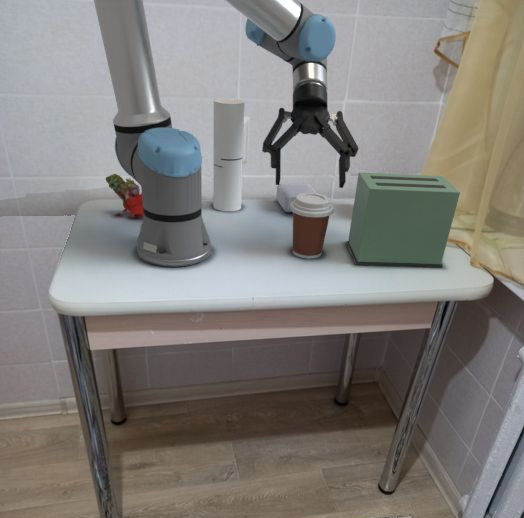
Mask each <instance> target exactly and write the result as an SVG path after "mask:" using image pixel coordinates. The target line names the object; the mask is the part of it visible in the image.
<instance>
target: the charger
mask: <svg viewBox="0 0 524 518" xmlns="http://www.w3.org/2000/svg"><path fill="white" fill-rule="evenodd" d="M302 193H318V192H317V191H316V190H315V189H314V188H313V186H312V185H311V184H309V183H307V182H295V183H293V182H290V183H289V182H288V183H287V182H285V183H279V185H276V197H275V198H276V200H277V202H278V203H279V205H280V207H281V208H282V209H283V211H284V212H286V213H293V212H292V211H291V210H290V203H292V202H293V201H294V200H296V196H297V195H299V194H302Z"/></svg>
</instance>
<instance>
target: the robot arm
mask: <svg viewBox="0 0 524 518" xmlns="http://www.w3.org/2000/svg"><path fill="white" fill-rule="evenodd" d="M224 1H225V2H226V3H227V4H229V5H230V6H231V7H233V8H234V9H235V10H237V11H238V12H239V13H240V14H241V15H243V17H245V18H247V19H246V23H245V27H244V28H245V29H244V31H245V35H246V38H247V39H248V40H249V41H251V42H252V43H254V44H255V45H256V46H257V47H260V48H262V49H264V50H266V51H267V52H268V53H271V54H273V55H275V56H276V57H278V58H279V59H281V60H282V61H284V62H286V63H288V64H290V65H291V69H292V110H291V111H287V110H285V108H284V107H280V108H279V109H278V114H277V118H276V119H275V121H274V123H273V125H272V126H271V128H270V130H269V132H268V134H267V135H266V137H265V138H264V140H263V142H262V149H261V151H262V152H263V153H268V154H269V155H270V169H275V185H276V186H278V185H279V184H281V168H282V167H281V163H282V162H281V161H282V160H281V158H282V157H281V156H282V155H281V152H282V149H284V147H285V146H286V145H287V144H288V143H289V142H290V141H291V140H292V139H293V138H294V137H296V136H297V135H298V134H299V133H301V134H302V135H313V136H317V135H318V134H319V136H320V137H322V138H323V139H325V140H326V141H327V143H329V145H330V146H331V147H332V149H334V151H335V152H337V154H338V155H339V159H338V187H339V189H343V188H344V186H345V184H346V178H347V177H346V173H348V172H349V170H350V168H351V158H355V157H356V156H357V154H358V152H359V145H358V144H357V142H356V140H355V138H354V137H353V135H352V133H351V131H350V129H349V128H348V126H347V124H346V122H345V120H344V113H343V112H342V111H341V110H338V111H337V112H336V113H329V110H328V57H329V56H330V54H331V53H332V51H333V49H334V47H335V45H336V38H337V34H336V27H335V25H334V23H333V22H332V20H331V19H330V18H329V17H327V16H324V15H322V14H319V13H314V12H312V11H311V10H310V9H309V8H308V7H307V6H306V5H304V4H303V3H302V2H300V1H299V0H224ZM93 3H94V7H95V12H96V16H97V20H98V26H99V29H100V33H101V34H100V35H101V38H102V43H103V48H104V52H105V57H106V61H107V66H108V70H109V71H108V72H109V75H110V79H111V85H112V88H113V93H114V97H115V102H116V106H117V113H116V114H115V116H114V117H113V118H112V124H113V128H114V131H115V140H114V151H115V155H116V158H117V161H118V163H119V165H120V167H121V168H122V169H123V171H124V172H125V173H126V174H127V175H128V176H130V177H131V178H132V179H133V180H134V181H136V182H137V183H138V184H139V186H140V187H141V193H142V201H143V214H144V217H142V222H141V225H140V228H139V229H140V230H139V233H138V237H137V240H136V251H137V253H136V254H137V255H138V257H139V259H141V260H142V261H144V262H146V263H148V264H152V265H154V266H159V267H169V268H173V267H174V268H175V267H178V268H179V267H187V266H193V265H196V264H200V263H201V262H204V261H205V260H206V259H207V258H209V257H210V256H211V253H212V244H211V239H210V236H209V234H208V230H207V228H206V225H205V223H204V218H203V215H202V214H203V213H202V210H203V208H202V206H203V205H202V204H203V203H202V200H203V199H202V193H203V192H202V191H203V190H202V188H203V187H202V163H203V156H202V152H201V143H200V141H199V140H198V138H197V137H196V136H195V135H194V134H192V133H191V132H188V131H186V130H180V129H179V128H175V127H173V124H172V118H171V113H170V111H168V110H167V109H166V108H164V107H163V106H162V104H161V99H160V91H159V86H158V81H157V80H158V79H157V75H156V69H155V63H154V58H153V51H152V46H151V40H150V35H149V34H150V33H149V29H148V23H147V16H146V11H145V6H144V0H93ZM288 119H289V120H290V121H291V126H289V128H287V130H285V131H284V132H283V134H282V135H280V137H279V138H277V136H278V134H279V132H280V130H281V129H282V127H283V124H285V123H287V121H288ZM329 122H331V123H332V125H333V126H334V127H335V129H336V131H337V133H338V134H337V133H336V132H335V131H334V130H333V129H332V127H331V125H330V123H329ZM276 138H277V140H276V141H275V139H276Z"/></svg>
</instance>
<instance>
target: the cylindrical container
mask: <svg viewBox="0 0 524 518" xmlns="http://www.w3.org/2000/svg"><path fill="white" fill-rule="evenodd" d="M245 104H246V103H245V100H243V99H239V98H230V97H229V98H227V97H221V98H220V97H219V98H215V99H213V197H212V198H213V200H212V201H213V203H212V204H213V209H215V210H217V211H220V212H236V211H240V210H241V209H242V195H243V193H242V192H243V191H242V190H243V163H244V162H243V161H244V158H243V156H244V132H245V131H244V130H245V129H244V128H245Z"/></svg>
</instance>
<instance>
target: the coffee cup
mask: <svg viewBox="0 0 524 518" xmlns="http://www.w3.org/2000/svg"><path fill="white" fill-rule="evenodd" d="M290 210H291V211H292V212H291V213H292V249H291V250H292V254H293V255H294V256H296V257H298V258H302V259H311V260H312V259H317V258H320V257H321V256H322V254H323V249H324V244H325V240H326V236H327V235H326V234H327V230H328V226H329V225H328V224H329V222H330V221H329V220H330V216H331V215H332V214H333V213H334V212H335V208H334V206H333V205H332V204H331V202H330V198H329V197H328V196H327V195H324V194H323V193H318V192H317V193H302V194H299V195H297V196H296V200H294V201H293V202H292V203H290Z"/></svg>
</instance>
